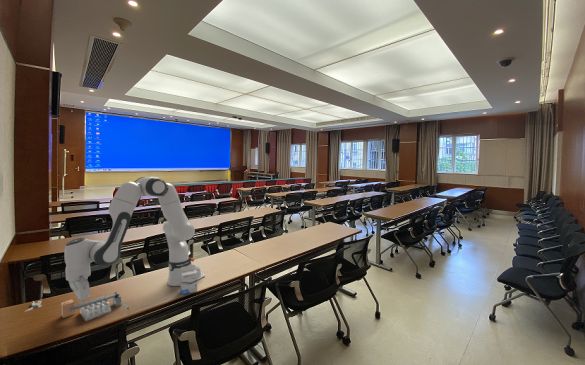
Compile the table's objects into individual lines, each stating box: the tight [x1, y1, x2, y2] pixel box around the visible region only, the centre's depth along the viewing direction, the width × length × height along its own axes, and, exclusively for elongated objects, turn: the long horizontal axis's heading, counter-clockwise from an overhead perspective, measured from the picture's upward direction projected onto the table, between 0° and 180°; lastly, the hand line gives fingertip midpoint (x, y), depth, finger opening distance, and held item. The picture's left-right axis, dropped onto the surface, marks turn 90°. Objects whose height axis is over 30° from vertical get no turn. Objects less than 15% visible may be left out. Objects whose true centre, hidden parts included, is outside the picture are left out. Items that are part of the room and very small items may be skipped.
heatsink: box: [79, 294, 122, 322], centre depth 125 cm, size 15×10×5 cm, turn 142°
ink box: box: [180, 264, 198, 295], centre depth 146 cm, size 8×5×15 cm, turn 123°
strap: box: [69, 291, 120, 311], centre depth 123 cm, size 19×4×1 cm, turn 142°
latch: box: [60, 298, 75, 319], centre depth 120 cm, size 4×6×7 cm, turn 52°
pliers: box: [24, 300, 42, 313], centre depth 127 cm, size 10×2×15 cm
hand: (80, 301), depth 118 cm, fingers closed
